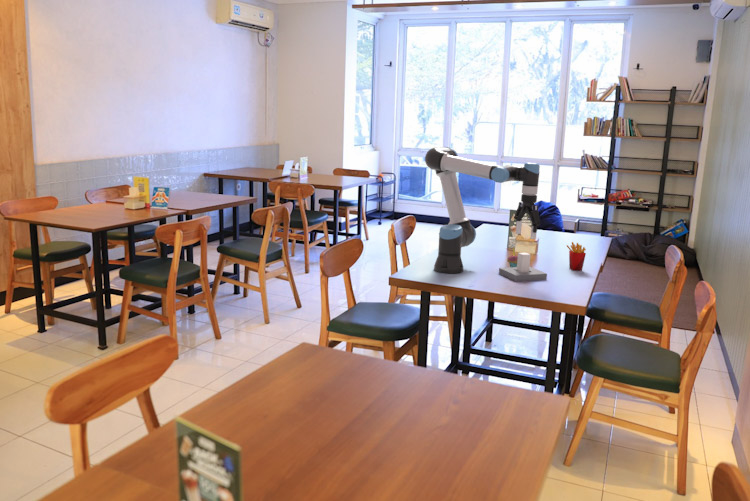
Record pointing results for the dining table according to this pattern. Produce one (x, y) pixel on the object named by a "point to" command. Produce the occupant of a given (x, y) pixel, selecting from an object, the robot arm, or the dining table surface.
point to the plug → (523, 262)
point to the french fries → (576, 257)
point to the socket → (522, 274)
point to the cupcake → (513, 259)
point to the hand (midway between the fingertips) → (525, 236)
